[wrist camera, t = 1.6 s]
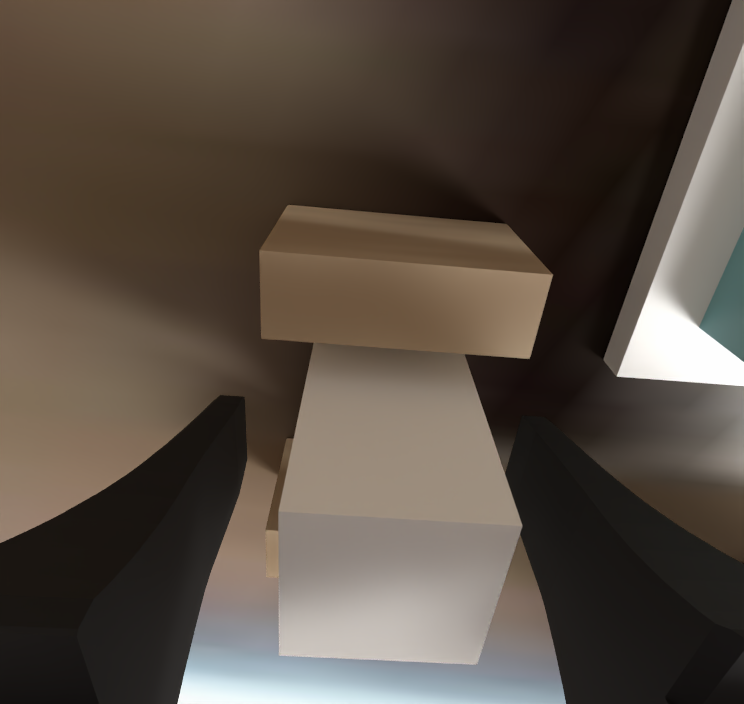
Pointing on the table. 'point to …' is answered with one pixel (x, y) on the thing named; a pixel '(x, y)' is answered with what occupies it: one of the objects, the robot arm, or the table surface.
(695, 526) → the table surface
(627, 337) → the port
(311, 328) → the wooden pieces
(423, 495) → the plug
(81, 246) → the table surface
